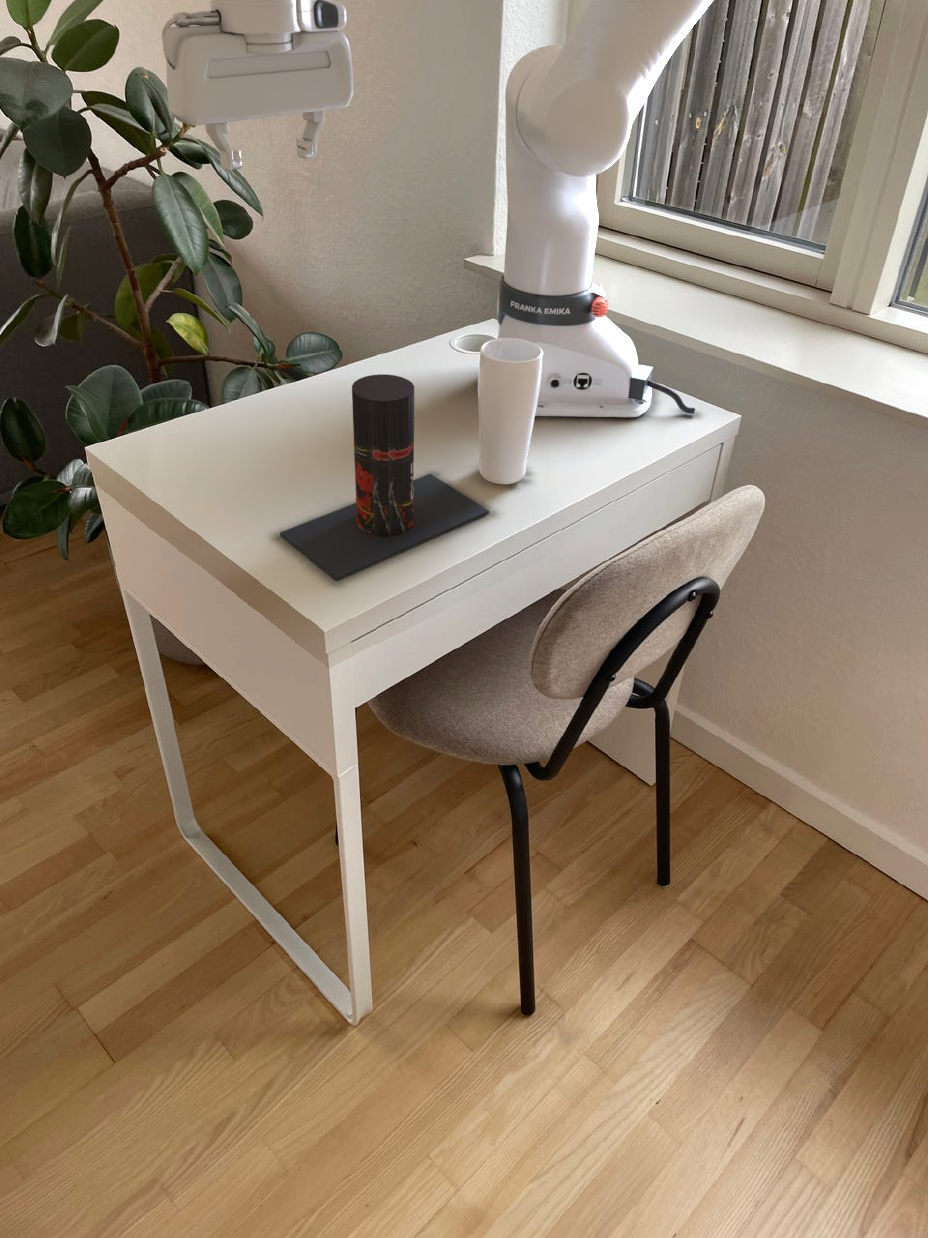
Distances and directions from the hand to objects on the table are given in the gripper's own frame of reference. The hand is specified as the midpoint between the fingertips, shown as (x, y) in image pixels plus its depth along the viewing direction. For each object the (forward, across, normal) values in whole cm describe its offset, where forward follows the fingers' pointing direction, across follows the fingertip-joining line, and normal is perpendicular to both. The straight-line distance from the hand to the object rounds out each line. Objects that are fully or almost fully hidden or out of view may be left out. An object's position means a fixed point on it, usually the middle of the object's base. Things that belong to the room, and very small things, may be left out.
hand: (270, 162), depth 99 cm
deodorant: (+29, -7, -28) cm, 41 cm away
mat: (+29, -7, -28) cm, 41 cm away
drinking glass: (+29, +10, -28) cm, 42 cm away
